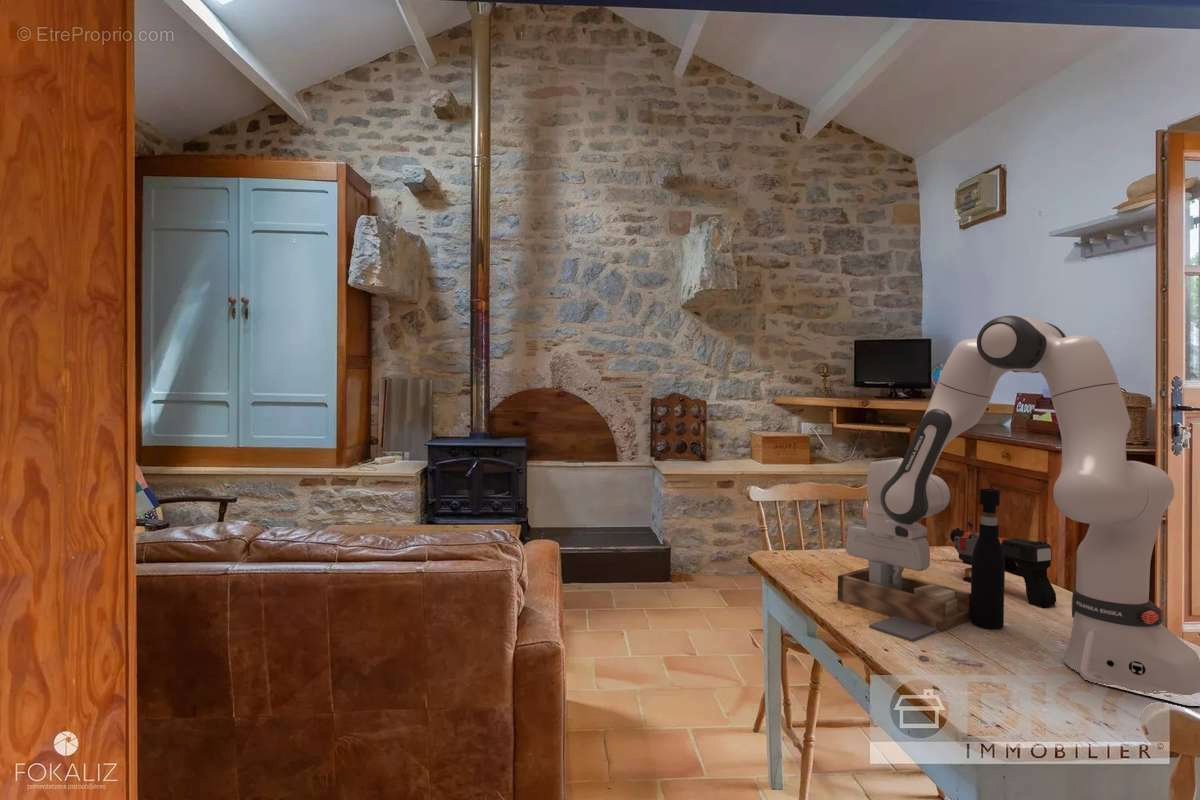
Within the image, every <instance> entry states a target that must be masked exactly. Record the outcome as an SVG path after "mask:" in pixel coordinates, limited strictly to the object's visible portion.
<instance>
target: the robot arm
mask: <svg viewBox="0 0 1200 800" xmlns="http://www.w3.org/2000/svg"><path fill="white" fill-rule="evenodd" d="M1008 372H1013V373H1028V374H1029V373H1031V374H1033V373H1036V374H1037V373H1039V374H1041V375H1042V376H1043V378H1044V379H1045V382H1046V384H1047V387H1048V390H1049V391H1048V392H1049V395H1050V399H1051V402H1052V405H1053V409H1054V413H1055V416H1056V420H1057V421H1056V422H1057V424H1058V428H1059V432H1060V438H1061V468H1060V473H1059V476H1058V477H1057V480H1056V481H1055V482H1054V485H1053V490H1052V491H1053V492H1052V493H1053V495H1052V496H1053V500H1054V503H1055V505H1056V507H1057V508H1058V509H1059V511H1060V513H1062V514H1063V515H1064V516H1065V517H1066V518H1067V519H1070V520H1072V521H1076V522H1079V523H1083V524H1086V525H1087V524H1088V525H1089V527H1088V530H1087V532H1086V534H1085V537H1084V538H1083V540H1081V542H1080V543H1079V544H1078V547H1077V550H1076V559H1075V562H1076V563H1075V564H1076V565H1075V588H1073V589H1072V596H1071V613H1072V614H1071V617H1072V618H1073V620H1072V626H1071V633H1070V638H1069V642H1068V645H1067V649H1066V651H1065V653H1064V656H1063V659H1062V660H1064V661H1063V663H1064V662H1065V663H1066V664H1067V665H1068V666H1070V667H1072V668H1073V669H1074V670H1076V671H1078V672H1079V673H1080V675H1081V676H1082V677H1083V678H1084V679H1086V680H1088V681H1091V682H1096V683H1101V684H1106V685H1118V686H1121V687H1125V688H1127V689H1130V690H1136V691H1142V692H1147V693H1153V694H1160V693H1163V692H1159V691H1166V692H1164V693H1173V694H1181V695H1192V694H1195V693H1198V692H1199V693H1200V658H1199V655H1198V653H1196V651H1195V650H1194V649H1193V648H1191V647H1190V646H1189V645H1188V644H1186V643H1185V642H1184V641H1183V640H1181V639H1180V638H1179V637H1178V636H1176V635H1175V634H1174V633H1173V632H1172V631H1171V630H1170V629H1168V628H1167V627H1166V626H1165V625H1163V624H1162V622H1163V621H1162V620H1163V613H1164V612H1165V611H1164V609H1165V607H1164V606H1163V605H1161V606H1160V607H1158V606H1157V605H1156V604H1155V603H1154V602H1152V601H1151V600H1150V596H1149V595H1150V581H1151V580H1150V578H1151V577H1150V575H1151V562H1152V561H1151V560H1152V555H1153V551H1154V546H1155V543H1156V538H1157V536H1158V534H1159V530H1160V526H1161V524H1162V520H1163V517H1164V514H1165V512H1166V510H1167V509H1168V507H1169V506H1170V505H1171V504H1172V501H1173V500H1174V497H1175V486H1174V482H1173V481H1172V478H1171V477H1170V476H1169V474H1168V473H1167V472H1166V471H1164V470H1163V469H1161V468H1160V467H1158V466H1155V465H1154V464H1153V465H1152V464H1149V463H1145V462H1142V461H1137V460H1127V437H1128V434H1129V432H1130V430H1131V426H1132V423H1131V422H1132V421H1131V418H1130V415H1129V412H1128V409H1127V406H1126V402H1125V397H1124V396H1123V392H1122V389H1121V386H1120V382H1119V380H1118V377H1117V374H1116V371H1115V369H1114V367H1113V364H1112V362H1111V360H1110V358H1109V357H1108V355H1107V352H1106V351H1105V349H1104V348H1103V346H1102V344H1101V343H1100V341H1099V340H1098V339H1096V338H1095V337H1092V336H1090V335H1085V334H1073V335H1068V336H1066V334H1065V333H1064V332H1063V330H1061V329H1060V328H1059V327H1058V326H1056V325H1054V324H1052V323H1049V322H1045V321H1041V320H1038V319H1036V318H1033V317H1027V316H1016V315H1002V316H999V317H996V318H993V319H992V320H989V321H988V322H986V323H985V324H984V325H983V327H982V328H981V329H980V331H979V332H978V335H977V338H968V339H963V340H961V341H960V342H958V343H957V344H956V345H955V346H954V348H953V349H952V352H951V353H950V354H949V356H948V358H947V360H946V362H945V364H944V366H943V368H942V371H941V373H940V375H939V377H938V379H937V382H936V385H935V388H934V391H933V393H932V395H931V398H930V401H929V403H928V406H927V408H926V410H925V413H924V415H923V417H922V418H921V420H920V423H919V424H918V427H917V428H916V431H915V432H914V435H913V437H912V439H911V441H910V444H909V446H908V448H907V450H906V452H905V454H904V457H900V456H889V457H882V458H876V459H874V460H872V461H871V462H870V464H869V467H868V471H867V477H866V478H867V480H866V494H867V498H868V505H867V507H866V520H865V519H859V518H853V519H850V520H849V522H848V523H847V534H846V535H847V536H846V542H845V552H846V553H847V555H848V556H851V557H854V558H860V559H863V560H864V559H865V560H867V565H868V566H869V563H871V562H874V561H878V562H882V563H887V564H889V565H893V566H894V570H896V571H895V573H894V575H892V576H889V579H890V580H889V582H890V583H892V584H898V583H899V576H900V575H901V573H902V574H903V572H904V570H905V569H907V570H912V571H916V572H923V571H926V570H928V568H929V567H930V566H931V553H930V551H931V550H930V544H929V541H928V539H927V538H926V536H927V535H928V528H927V527H926V526H925V525H922V524H921V523H919V522H918V521H920V520H921V519H924V518H927V517H931V516H933V515H936V514H939V513H941V512H942V511H944V510H946V509H947V507H948V506H949V504H950V502H951V490H950V487H949V486H948V483H947V482H946V481H945V480H944V479H943V478H942V477H940V476H939V475H936V474H933V471H934V469H935V467H936V465H937V463H938V460H939V458H940V456H941V454H942V452H943V450H944V449H945V448H946V446H948V444H949V443H950V442H952V441H953V440H954V439H955V438H956V437H958V436H960V434H962V433H964V432H966V431H968V430H969V429H972V428H973V427H974V426H975V425H977V424H978V422H979V421H980V419H982V417H983V416H984V413H985V412H986V411H987V409H988V406H989V404H990V401H991V399H992V396H993V394H994V391H995V388H996V385H997V384H998V381H999V380H1000V378H1001V377H1002V376H1003V375H1005V374H1006V373H1008ZM1065 663H1064V664H1065ZM1066 664H1065V665H1066ZM1067 665H1066V666H1067ZM1068 666H1067V667H1068ZM1074 670H1073V671H1074ZM1076 671H1075V672H1076ZM1079 673H1078V674H1079ZM1080 675H1079V676H1080ZM1081 676H1080V677H1081ZM1082 677H1081V678H1082ZM1083 678H1082V679H1083ZM1084 679H1083V680H1084ZM1088 681H1087V682H1088ZM1091 682H1090V683H1091ZM1154 691H1156V692H1154ZM1164 696H1166V697H1172V696H1171V695H1164Z"/></svg>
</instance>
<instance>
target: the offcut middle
mask: <svg viewBox="0 0 1200 800" xmlns="http://www.w3.org/2000/svg"><path fill="white" fill-rule="evenodd" d="M957 607H958V600H957V599H955V600H954V601H950V602H947V603H946V614H945V616H946V615H949V614H951V613H953V612H955V611H957Z"/></svg>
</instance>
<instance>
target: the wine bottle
mask: <svg viewBox="0 0 1200 800" xmlns="http://www.w3.org/2000/svg"><path fill="white" fill-rule="evenodd" d="M1000 496H1001V491H1000V490H999V489H996V488H980V489H979V505H981V506H982V512H981V513H982V515H981V516H980V523H979V525H978V526H979V527H978V533H979V537H978V540H977V542H976V544H975V547H974V550H973V555H972V565H971V567H970V568H971V583H970V593H971V614H970V620H969V621H970V623H971V625H972V626H976V627H977V628H980V629H986V630H992V631H993V630H1001V629H1004V622H1005V621H1004V619H1005V618H1004V617H1005V616H1004V615H1005V581H1006V580H1005V578H1006V577H1005V576H1006V573H1005V559H1004V554H1003V549H1002V546H1001V544H1000V541H999V535H1000V533H999V530H1000V529H999V528H1000V527H999V526H1000V525H999V522H998V520H999V519H998V516H997V507H998V506H1000V505H1001V503H1000V501H1001V500H1000V499H1001V497H1000Z"/></svg>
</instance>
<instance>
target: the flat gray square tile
mask: <svg viewBox="0 0 1200 800" xmlns="http://www.w3.org/2000/svg"><path fill="white" fill-rule="evenodd" d="M868 628H870V629H873V630H875V631H879V632H882V633H884V634H888V635H890V636H893V637H897V638H900V639H904V640H906V641H909V642H915V641H918V640H920V639H923V638H925V637H928V636H930V635H933V634H935V633H937V632H939V631H938V629H937V628H934V627H931V626H927V625H924V624H921V623H917V622H914V621H911V620H908V619H904V618H901V617H898V616H893V617H892V616H889V617H886V618H885V619H882V620H879V621H876V622H873V623H870V624H868Z"/></svg>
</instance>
